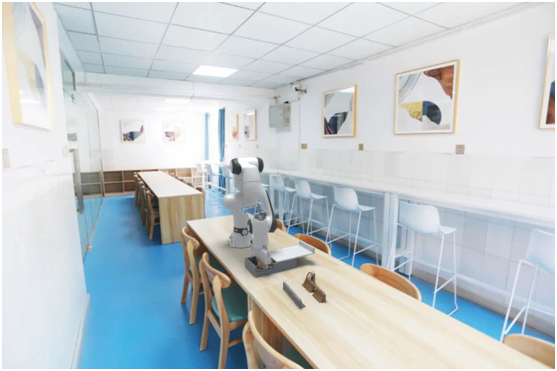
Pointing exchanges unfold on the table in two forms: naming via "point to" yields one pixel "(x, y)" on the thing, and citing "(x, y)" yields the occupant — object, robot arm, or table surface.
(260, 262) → the brown egg
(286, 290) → the skate ramp
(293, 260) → the housing
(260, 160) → the robot arm
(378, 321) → the table surface
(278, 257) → the lid
